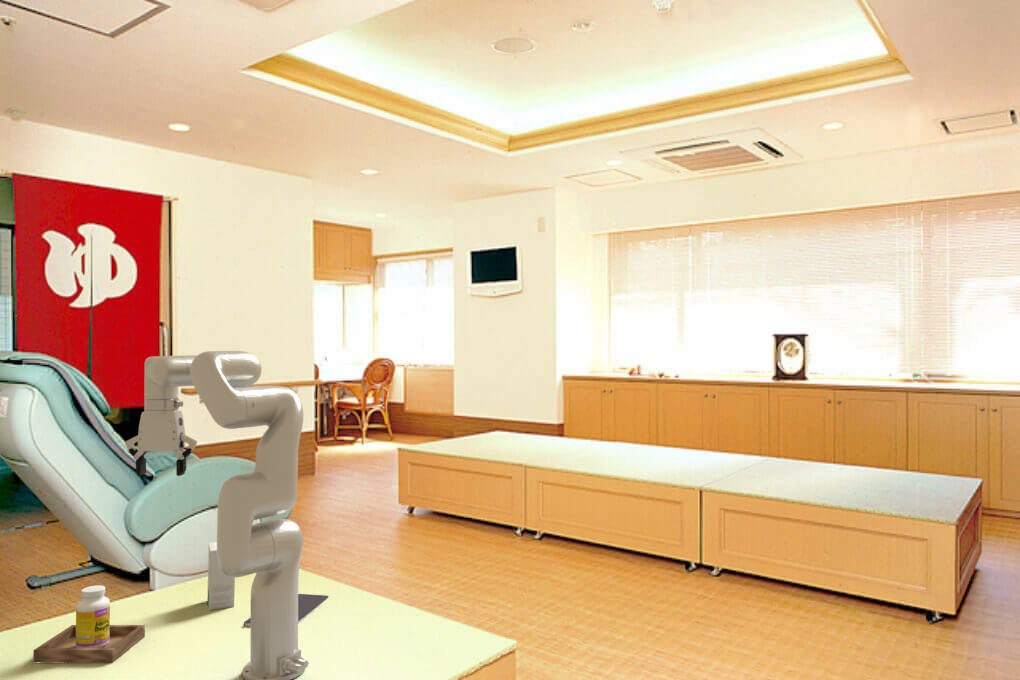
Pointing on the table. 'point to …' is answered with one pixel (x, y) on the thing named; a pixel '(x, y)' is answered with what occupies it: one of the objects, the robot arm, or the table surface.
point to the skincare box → (218, 583)
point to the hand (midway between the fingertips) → (161, 475)
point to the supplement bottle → (93, 618)
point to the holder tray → (66, 651)
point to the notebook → (304, 606)
